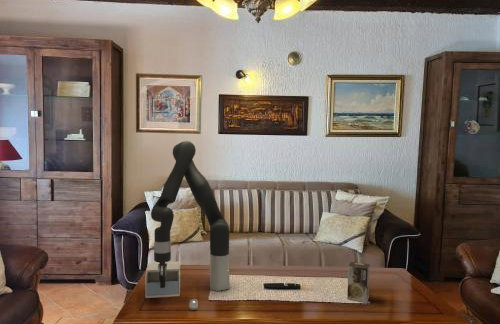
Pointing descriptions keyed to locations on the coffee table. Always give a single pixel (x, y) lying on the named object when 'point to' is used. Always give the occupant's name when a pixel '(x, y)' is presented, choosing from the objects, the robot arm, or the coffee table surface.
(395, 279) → the coffee table surface
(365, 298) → the coffee box
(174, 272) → the beige shelf
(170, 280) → the tray
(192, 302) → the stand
